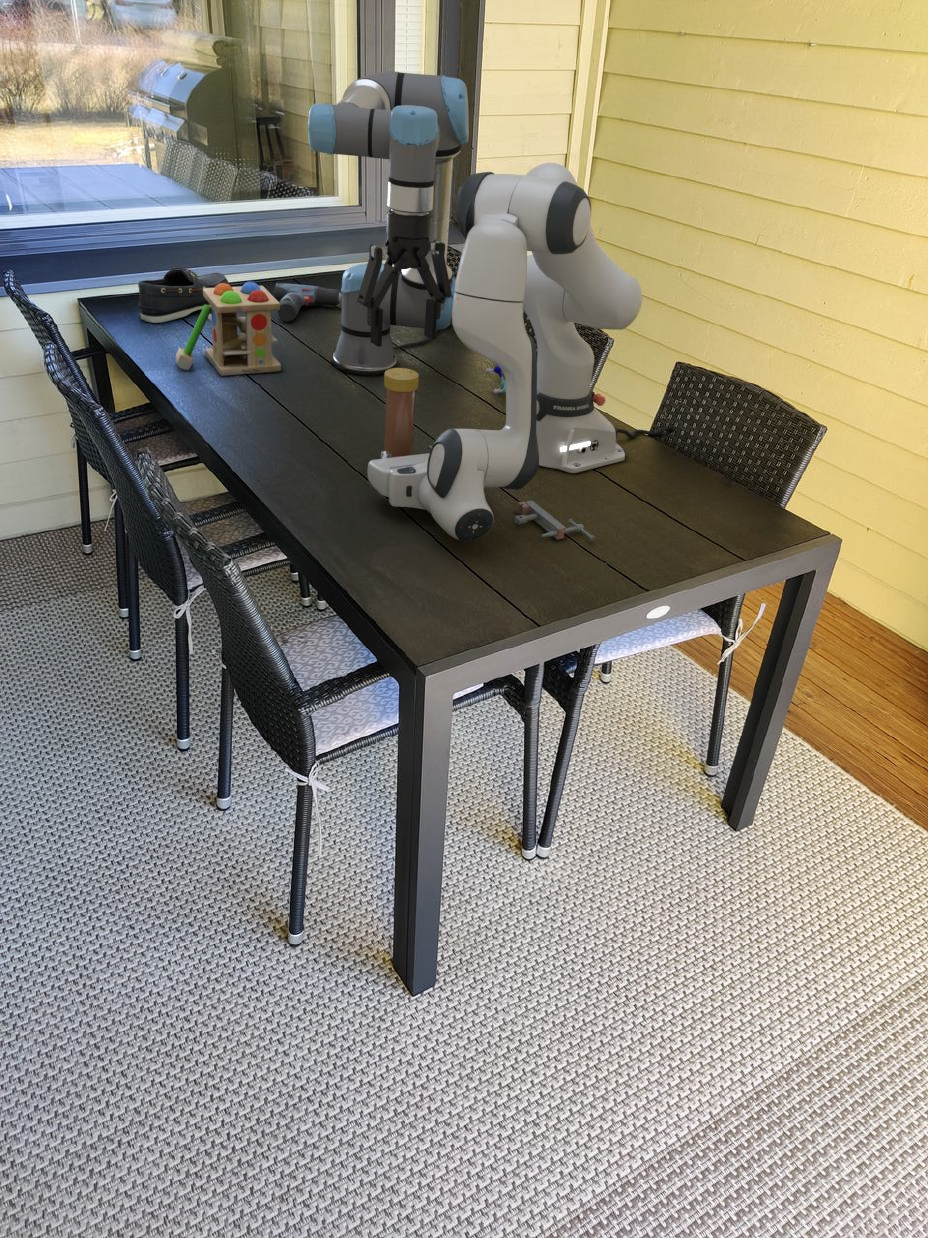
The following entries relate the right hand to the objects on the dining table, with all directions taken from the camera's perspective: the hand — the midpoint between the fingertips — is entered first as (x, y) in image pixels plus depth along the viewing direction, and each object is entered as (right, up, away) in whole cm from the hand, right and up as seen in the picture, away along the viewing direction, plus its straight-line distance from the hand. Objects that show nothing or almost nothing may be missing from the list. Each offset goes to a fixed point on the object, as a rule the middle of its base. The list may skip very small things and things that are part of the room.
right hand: (407, 451), depth 184 cm
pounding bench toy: (-46, +28, +47) cm, 71 cm away
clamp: (+26, -15, -7) cm, 31 cm away
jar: (-3, -3, +7) cm, 8 cm away
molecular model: (+20, +21, +45) cm, 54 cm away
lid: (-1, +13, -4) cm, 14 cm away
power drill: (-33, +52, +83) cm, 103 cm away
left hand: (0, +19, -8) cm, 20 cm away
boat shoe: (-64, +52, +79) cm, 114 cm away
